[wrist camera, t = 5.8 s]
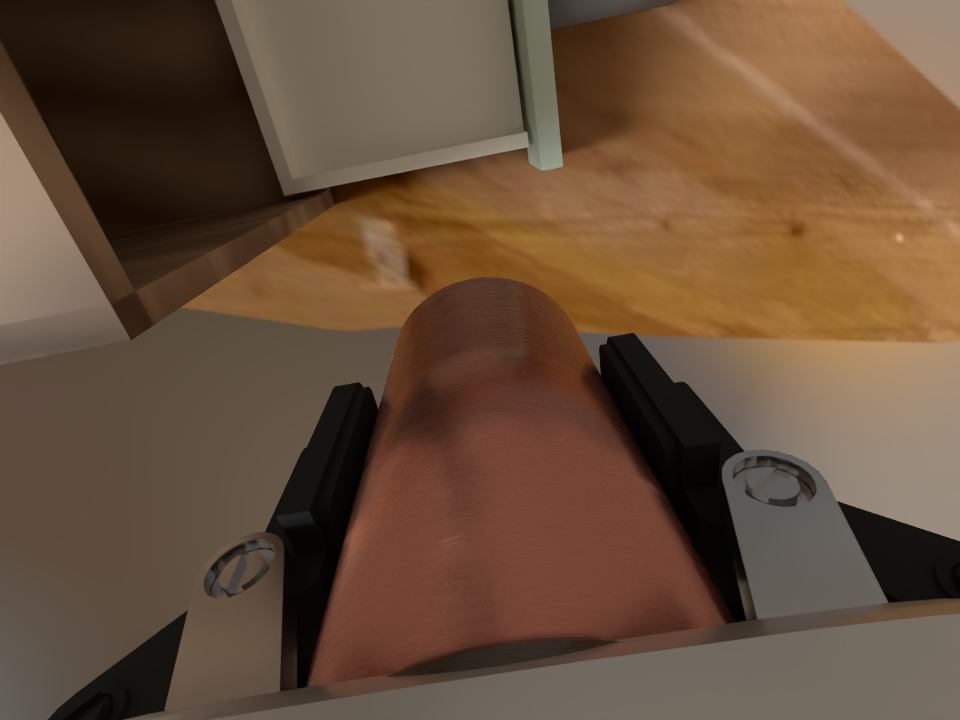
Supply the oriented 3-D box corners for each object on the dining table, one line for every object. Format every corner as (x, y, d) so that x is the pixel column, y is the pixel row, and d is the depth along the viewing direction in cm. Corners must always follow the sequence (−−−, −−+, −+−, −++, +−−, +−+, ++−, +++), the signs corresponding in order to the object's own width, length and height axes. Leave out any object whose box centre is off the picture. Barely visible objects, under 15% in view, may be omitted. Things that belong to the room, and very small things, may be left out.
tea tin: (364, 295, 12) (94, 834, 3) (576, 254, 12) (956, 713, 3) (416, 459, 14) (350, 1019, 6) (591, 428, 14) (816, 963, 5)
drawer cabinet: (-48, -44, 25) (-1797, -607, 6) (237, -111, 25) (-658, -1033, 5) (110, 248, 33) (-422, 443, 13) (335, 204, 32) (130, 340, 12)
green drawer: (206, -100, 25) (143, -154, 20) (651, -205, 23) (700, -289, 19) (308, 206, 32) (281, 222, 27) (654, 138, 30) (691, 141, 26)
